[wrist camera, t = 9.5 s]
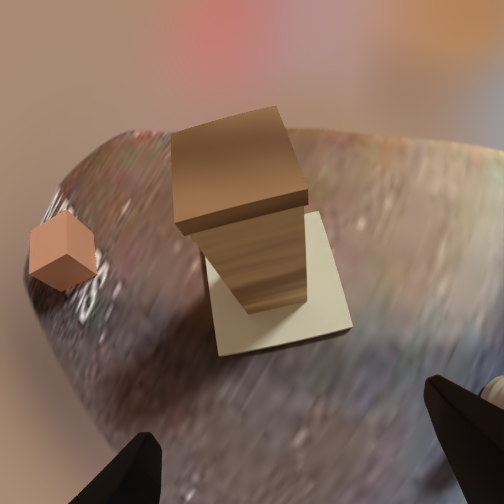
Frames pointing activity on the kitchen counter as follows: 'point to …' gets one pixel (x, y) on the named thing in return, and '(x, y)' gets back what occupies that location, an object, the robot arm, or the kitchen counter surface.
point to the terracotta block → (62, 252)
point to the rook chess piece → (495, 392)
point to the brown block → (244, 205)
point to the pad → (288, 317)
